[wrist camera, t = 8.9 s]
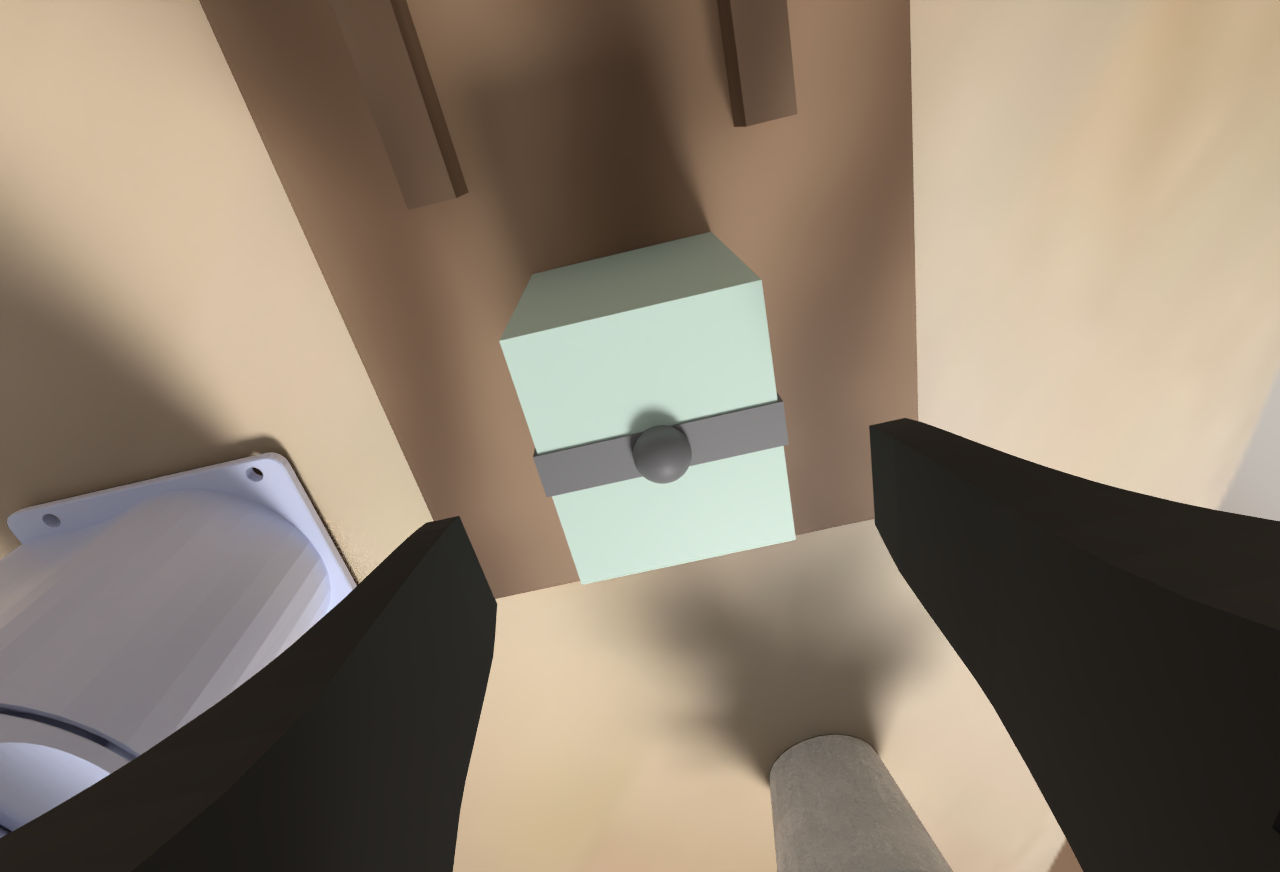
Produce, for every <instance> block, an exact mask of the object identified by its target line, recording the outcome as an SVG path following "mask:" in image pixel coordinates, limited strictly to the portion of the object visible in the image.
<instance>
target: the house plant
mask: <svg viewBox="0 0 1280 872" xmlns="http://www.w3.org/2000/svg"><path fill="white" fill-rule="evenodd" d="M770 792H771V804H772V815H773V826H774V838H775V849H776V860H777V872H953V871H952V869H951V868H950V866H949V865H948V863H947V862H946V860H945V859H944V857H943V855H942V854H941V852H940V851H939V849H938V848H937V846H936V844H935V843H934V841H933V840H932V838H931V837H930V835H929V834H928V832H927V830H926V829H925V827H924V826H923V824H922V823H921V821H920V820H919V818H918V816H917V815H916V813H915V812H914V810H913V809H912V807H911V806H910V804H909V802H908V801H907V799H906V798H905V796H904V795H903V793H902V792H901V790H900V788H899V787H898V785H897V784H896V782H895V781H894V779H893V777H892V776H891V774H890V773H889V771H888V770H887V768H886V767H885V765H884V763H883V762H882V760H881V759H880V757H879V756H878V754H877V753H876V751H875V750H874V749H873V748H872V747H871V745H869V744H868V743H866V742H864V741H863V740H861V739H858V738H855V737H851V736H847V735H826V736H818V737H815V738H811V739H808V740H804V741H802V742H800V743H798V744H796V745H794V746H792V747H791V748H789V749H788V750H787V751H785V752H784V753H783V754H782V755H780V757H779V758H778V759H777V760H776V762H775V763H774V764H773V767H772V769H771V772H770Z"/></svg>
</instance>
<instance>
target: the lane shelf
mask: <svg viewBox="0 0 1280 872" xmlns="http://www.w3.org/2000/svg"><path fill="white" fill-rule="evenodd" d="M199 1H200V3H201V6H202V8H203V10H204V12H205V14H206V17H207V19H208V21H209V23H210V25H211V28H212V30H213V32H214V34H215V37H216V39H217V41H218V43H219V45H220V48H221V50H222V52H223V54H224V57H225V59H226V61H227V63H228V65H229V68H230V70H231V72H232V74H233V76H234V79H235V81H236V83H237V85H238V88H239V90H240V92H241V94H242V96H243V99H244V101H245V103H246V105H247V108H248V110H249V112H250V114H251V116H252V119H253V121H254V123H255V125H256V127H257V130H258V132H259V134H260V136H261V139H262V141H263V143H264V145H265V147H266V150H267V152H268V154H269V156H270V159H271V161H272V163H273V165H274V167H275V170H276V172H277V174H278V176H279V178H280V181H281V183H282V185H283V187H284V190H285V192H286V194H287V196H288V198H289V201H290V203H291V205H292V207H293V210H294V212H295V214H296V216H297V218H298V221H299V223H300V225H301V227H302V229H303V232H304V234H305V236H306V238H307V241H308V243H309V245H310V247H311V249H312V252H313V254H314V256H315V258H316V261H317V263H318V265H319V267H320V269H321V272H322V274H323V276H324V278H325V281H326V283H327V285H328V287H329V289H330V292H331V294H332V296H333V298H334V300H335V303H336V305H337V307H338V309H339V312H340V314H341V316H342V318H343V320H344V323H345V325H346V327H347V329H348V332H349V334H350V336H351V338H352V340H353V343H354V345H355V347H356V349H357V351H358V354H359V356H360V358H361V360H362V363H363V365H364V367H365V369H366V371H367V374H368V376H369V378H370V380H371V383H372V385H373V387H374V389H375V391H376V394H377V396H378V398H379V400H380V402H381V405H382V407H383V409H384V411H385V414H386V416H387V418H388V420H389V422H390V425H391V427H392V429H393V431H394V434H395V436H396V438H397V440H398V442H399V445H400V447H401V449H402V451H403V453H404V456H405V458H406V460H407V462H408V465H409V467H410V469H411V471H412V473H413V476H414V478H415V480H416V482H417V485H418V487H419V489H420V491H421V493H422V496H423V498H424V500H425V502H426V505H427V507H428V509H429V511H430V513H431V516H432V518H433V520H434V521H437V520H442V519H447V518H451V517H456V516H460V518H461V521H462V523H463V525H464V528H465V530H466V532H467V535H468V537H469V539H470V542H471V544H472V547H473V549H474V551H475V554H476V556H477V558H478V561H479V563H480V565H481V568H482V570H483V572H484V575H485V577H486V579H487V582H488V584H489V586H490V589H491V591H492V593H493V596H494V598H495V599H497V598H501V597H506V596H511V595H515V594H520V593H525V592H530V591H534V590H539V589H544V588H549V587H553V586H558V585H563V584H567V583H572V582H577V581H580V578H579V575H578V572H577V569H576V566H575V563H574V560H573V557H572V554H571V551H570V549H569V546H568V543H567V540H566V537H565V534H564V531H563V528H562V525H561V522H560V519H559V516H558V513H557V510H556V507H555V504H554V501H553V498H552V496H551V497H546V494H545V491H544V488H543V485H542V482H541V479H540V476H539V474H538V471H537V468H536V465H535V462H534V459H533V455H534V450H535V445H534V442H533V439H532V436H531V433H530V430H529V427H528V424H527V422H526V419H525V416H524V413H523V410H522V407H521V404H520V401H519V398H518V395H517V392H516V389H515V386H514V383H513V380H512V377H511V374H510V371H509V368H508V365H507V362H506V359H505V357H504V354H503V351H502V348H501V345H500V342H499V340H500V338H501V336H502V334H503V332H504V330H505V328H506V326H507V324H508V322H509V320H510V318H511V316H512V314H513V312H514V310H515V308H516V306H517V304H518V302H519V300H520V298H521V296H522V294H523V292H524V290H525V288H526V286H527V284H528V282H529V280H530V278H531V276H532V274H535V273H539V272H544V271H548V270H552V269H556V268H560V267H565V266H569V265H573V264H577V263H581V262H586V261H590V260H594V259H598V258H602V257H607V256H611V255H615V254H619V253H623V252H628V251H632V250H636V249H640V248H644V247H649V246H653V245H657V244H661V243H665V242H670V241H674V240H678V239H682V238H686V237H691V236H695V235H699V234H703V233H707V232H712V233H713V234H714V235H715V236H716V237H717V238H718V239H719V240H720V241H721V242H723V243H724V244H725V245H726V246H727V247H728V248H729V249H730V250H731V251H732V252H733V253H734V254H735V255H736V256H737V257H738V258H739V259H740V260H741V261H742V262H744V263H745V264H746V265H747V266H748V267H749V268H750V269H751V270H752V271H753V272H754V273H755V274H756V275H757V276H758V277H759V278H760V279H761V280H762V286H763V294H764V301H765V309H766V316H767V324H768V332H769V339H770V347H771V354H772V362H773V370H774V377H775V385H776V391H777V393H778V394H779V396H780V397H781V399H782V400H783V403H784V411H785V419H786V427H787V435H788V443H789V445H784V453H785V461H786V468H787V476H788V483H789V491H790V499H791V506H792V514H793V521H794V529H795V535H799V534H804V533H809V532H813V531H818V530H823V529H827V528H832V527H837V526H842V525H846V524H851V523H856V522H861V521H865V520H870V519H875V514H874V498H873V481H872V464H871V447H870V431H869V426H870V425H874V424H879V423H884V422H888V421H893V420H897V419H902V418H908V419H912V420H916V421H918V395H917V344H916V294H915V243H914V193H913V143H912V92H911V42H910V0H199Z"/></svg>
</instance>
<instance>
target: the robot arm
mask: <svg viewBox="0 0 1280 872" xmlns="http://www.w3.org/2000/svg"><path fill="white" fill-rule="evenodd" d="M869 431H870V447H871V464H872V481H873V498H874V514H875V525H876V527H877V529H878V531H879V533H880V535H881V537H882V539H883V541H884V543H885V545H886V547H887V549H888V551H889V553H890V555H891V557H892V558H893V560H894V562H895V564H896V566H897V568H898V570H899V571H900V573H901V574H902V576H903V577H904V579H905V580H906V582H907V583H908V585H909V586H910V588H911V589H912V590H913V592H914V593H915V595H916V596H917V598H918V599H919V600H920V602H921V603H922V605H923V606H924V608H925V609H926V610H927V612H928V613H929V615H930V616H931V617H932V619H933V620H934V622H935V623H936V624H937V626H938V627H939V629H940V630H941V632H942V633H943V634H944V636H945V637H946V639H947V640H948V641H949V643H950V644H951V646H952V647H953V648H954V650H955V651H956V653H957V654H958V655H959V657H960V658H961V660H962V661H963V662H964V664H965V665H966V667H967V668H968V669H969V671H970V672H971V674H972V675H973V676H974V678H975V679H976V681H977V682H978V684H979V685H980V687H981V688H982V690H983V692H984V693H985V695H986V696H987V698H988V699H989V701H990V702H991V704H992V705H993V707H994V709H995V710H996V712H997V714H998V716H999V717H1000V719H1001V721H1002V723H1003V724H1004V726H1005V728H1006V730H1007V731H1008V733H1009V735H1010V737H1011V739H1012V740H1013V742H1014V744H1015V746H1016V747H1017V749H1018V751H1019V753H1020V754H1021V756H1022V758H1023V760H1024V761H1025V763H1026V765H1027V767H1028V768H1029V770H1030V772H1031V774H1032V776H1033V778H1034V779H1035V781H1036V783H1037V785H1038V787H1039V789H1040V791H1041V792H1042V794H1043V796H1044V798H1045V800H1046V802H1047V803H1048V805H1049V807H1050V809H1051V811H1052V813H1053V815H1054V816H1055V818H1056V820H1057V822H1058V824H1059V826H1060V827H1061V829H1062V831H1063V833H1064V835H1065V837H1066V839H1067V841H1068V842H1069V844H1070V846H1071V848H1072V850H1073V852H1074V854H1075V856H1076V858H1077V860H1078V862H1079V864H1080V866H1081V868H1082V870H1083V872H1280V521H1274V520H1268V519H1262V518H1257V517H1251V516H1245V515H1239V514H1234V513H1229V512H1223V511H1217V510H1212V509H1207V508H1202V507H1197V506H1192V505H1188V504H1183V503H1178V502H1174V501H1169V500H1165V499H1161V498H1157V497H1153V496H1149V495H1144V494H1140V493H1136V492H1132V491H1128V490H1124V489H1119V488H1116V487H1112V486H1108V485H1105V484H1101V483H1097V482H1094V481H1090V480H1087V479H1084V478H1080V477H1077V476H1074V475H1071V474H1067V473H1064V472H1061V471H1058V470H1054V469H1051V468H1048V467H1045V466H1042V465H1039V464H1036V463H1033V462H1030V461H1027V460H1024V459H1021V458H1018V457H1015V456H1013V455H1010V454H1007V453H1004V452H1001V451H999V450H996V449H993V448H990V447H988V446H985V445H982V444H979V443H977V442H974V441H971V440H969V439H966V438H963V437H961V436H958V435H955V434H953V433H950V432H947V431H945V430H942V429H939V428H936V427H934V426H931V425H928V424H925V423H922V422H919V421H916V420H912V419H908V418H902V419H897V420H893V421H888V422H884V423H879V424H874V425H870V426H869ZM252 467H255V468H257V469H259V470H260V471H261V472H262V473H263V475H258V474H256V473H255V472H254V471H253V469H252ZM54 515H55V516H56V517H57V518H59V519H57V518H56V517H55V516H54ZM7 525H8V527H9V529H10V530H11V531H12V533H13V534H14V535H15V536H16V537H17V539H18V540H19V541H20V542H21V543H22V544H21V545H20V546H19V547H17V548H16V549H14V550H13V551H12V552H10V553H9V554H7V555H6V556H5V557H3V558H2V559H0V872H453V864H454V856H455V847H456V839H457V831H458V823H459V814H460V808H461V802H462V797H463V791H464V786H465V780H466V776H467V772H468V767H469V763H470V758H471V754H472V749H473V745H474V741H475V736H476V732H477V727H478V723H479V719H480V714H481V710H482V705H483V701H484V696H485V692H486V687H487V682H488V678H489V673H490V669H491V664H492V659H493V651H494V640H495V628H496V612H497V603H496V600H495V598H494V596H493V593H492V591H491V589H490V586H489V584H488V582H487V579H486V577H485V575H484V572H483V570H482V568H481V565H480V563H479V561H478V558H477V556H476V554H475V551H474V549H473V547H472V544H471V542H470V539H469V537H468V535H467V532H466V530H465V528H464V525H463V523H462V521H461V518H460V516H456V517H451V518H447V519H442V520H437V521H433V522H428V523H425V524H424V525H423V526H422V527H420V528H419V529H418V530H416V531H415V532H414V533H413V534H412V535H411V536H409V537H408V538H407V539H406V540H405V541H404V542H403V543H402V544H401V545H400V546H399V547H397V548H396V549H395V550H394V551H393V552H392V553H391V554H390V555H389V556H388V557H387V558H386V559H385V560H384V561H383V562H382V563H381V564H380V565H379V566H378V567H376V568H375V569H374V570H373V571H372V572H371V573H370V574H369V575H368V576H367V577H366V578H365V579H364V580H363V581H362V582H361V583H360V584H359V585H358V586H357V585H356V583H355V581H354V579H353V578H352V576H351V574H350V572H349V570H348V569H347V567H346V565H345V563H344V561H343V560H342V558H341V556H340V554H339V552H338V550H337V549H336V547H335V545H334V543H333V541H332V540H331V538H330V536H329V534H328V532H327V530H326V529H325V527H324V525H323V523H322V521H321V520H320V518H319V516H318V514H317V512H316V511H315V509H314V507H313V505H312V503H311V501H310V500H309V498H308V496H307V494H306V492H305V491H304V489H303V487H302V485H301V483H300V481H299V480H298V478H297V476H296V474H295V472H294V471H293V469H292V467H291V465H290V463H289V462H288V461H287V459H286V458H285V457H283V456H282V455H280V454H277V453H274V452H269V453H263V454H259V455H254V456H250V457H246V458H241V459H237V460H232V461H228V462H224V463H219V464H215V465H211V466H206V467H202V468H197V469H193V470H189V471H184V472H180V473H176V474H171V475H167V476H162V477H158V478H154V479H149V480H145V481H141V482H136V483H132V484H127V485H123V486H119V487H114V488H110V489H106V490H101V491H97V492H92V493H88V494H84V495H79V496H75V497H71V498H66V499H62V500H57V501H53V502H49V503H44V504H40V505H35V506H31V507H27V508H22V509H20V510H18V511H16V512H15V513H13V514H12V515H10V516H9V517H8V519H7Z"/></svg>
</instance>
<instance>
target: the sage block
mask: <svg viewBox="0 0 1280 872" xmlns="http://www.w3.org/2000/svg"><path fill="white" fill-rule="evenodd" d="M499 342H500V345H501V348H502V351H503V354H504V357H505V359H506V362H507V365H508V368H509V371H510V374H511V377H512V380H513V383H514V386H515V389H516V392H517V395H518V398H519V401H520V404H521V407H522V410H523V413H524V416H525V419H526V422H527V424H528V427H529V430H530V433H531V436H532V439H533V442H534V445H535V450H534V455H533V459H534V462H535V465H536V468H537V471H538V474H539V476H540V479H541V482H542V485H543V488H544V491H545V494H546V497H551V496H552V498H553V501H554V504H555V507H556V510H557V513H558V516H559V519H560V522H561V525H562V528H563V531H564V534H565V537H566V540H567V543H568V546H569V549H570V551H571V554H572V557H573V560H574V563H575V566H576V569H577V572H578V575H579V578H580V581H581V584H582V585H584V584H589V583H593V582H598V581H603V580H608V579H612V578H617V577H622V576H627V575H631V574H636V573H641V572H646V571H650V570H655V569H660V568H665V567H669V566H674V565H679V564H684V563H688V562H693V561H698V560H702V559H707V558H712V557H717V556H721V555H726V554H731V553H736V552H740V551H745V550H750V549H755V548H759V547H764V546H769V545H774V544H778V543H783V542H788V541H793V540H796V537H795V529H794V521H793V514H792V506H791V499H790V491H789V483H788V476H787V468H786V461H785V453H784V445H789V443H788V435H787V427H786V419H785V411H784V403H783V400H782V399H781V397H780V396H779V394H778V393H777V391H776V385H775V377H774V370H773V362H772V354H771V347H770V339H769V332H768V324H767V316H766V309H765V301H764V294H763V286H762V280H761V279H760V278H759V277H758V276H757V275H756V274H755V273H754V272H753V271H752V270H751V269H750V268H749V267H748V266H747V265H746V264H745V263H744V262H742V261H741V260H740V259H739V258H738V257H737V256H736V255H735V254H734V253H733V252H732V251H731V250H730V249H729V248H728V247H727V246H726V245H725V244H724V243H723V242H721V241H720V240H719V239H718V238H717V237H716V236H715V235H714V234H713V233H712V232H707V233H703V234H699V235H695V236H691V237H686V238H682V239H678V240H674V241H670V242H665V243H661V244H657V245H653V246H649V247H644V248H640V249H636V250H632V251H628V252H623V253H619V254H615V255H611V256H607V257H602V258H598V259H594V260H590V261H586V262H581V263H577V264H573V265H569V266H565V267H560V268H556V269H552V270H548V271H544V272H539V273H535V274H532V276H531V278H530V280H529V282H528V284H527V286H526V288H525V290H524V292H523V294H522V296H521V298H520V300H519V302H518V304H517V306H516V308H515V310H514V312H513V314H512V316H511V318H510V320H509V322H508V324H507V326H506V328H505V330H504V332H503V334H502V336H501V338H500V340H499Z"/></svg>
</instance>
